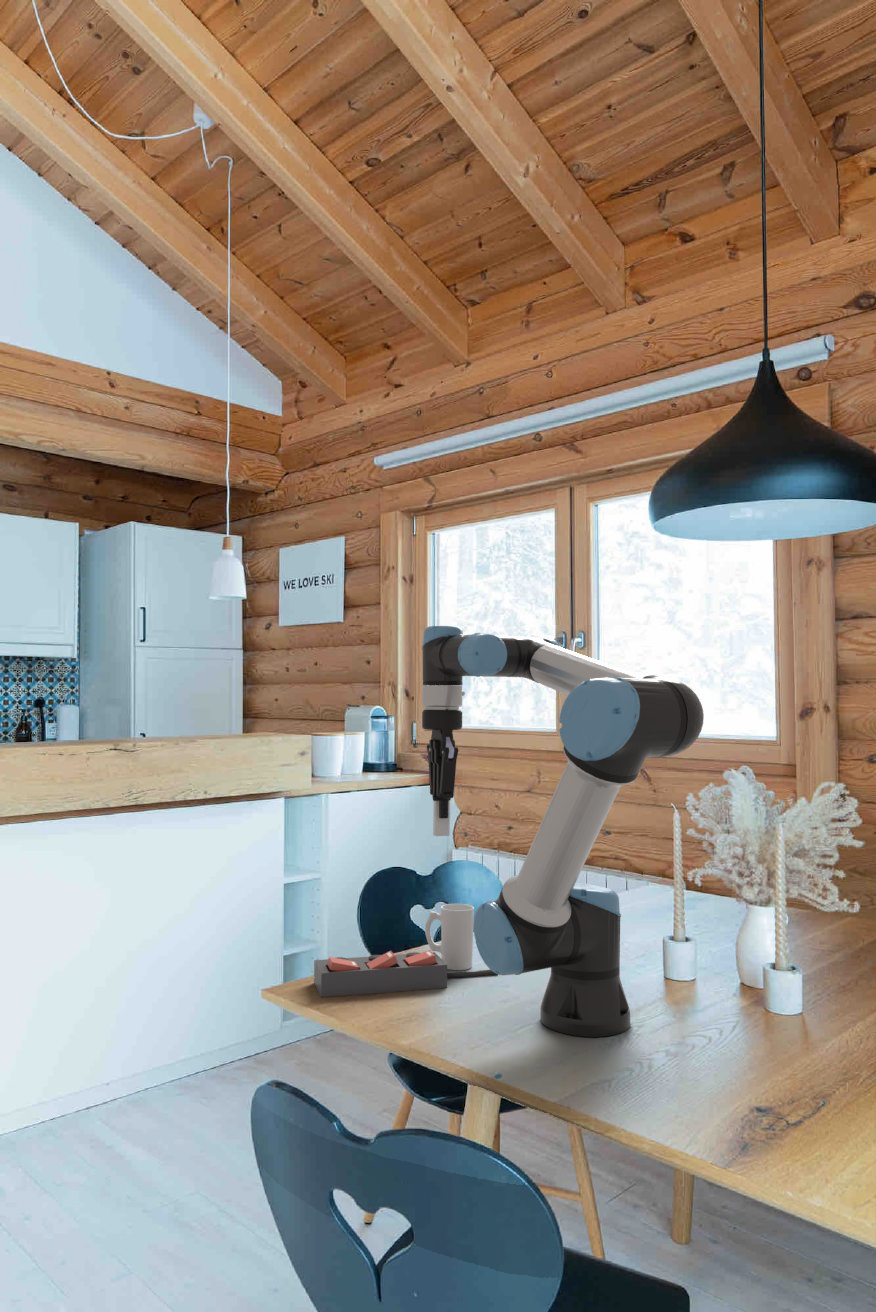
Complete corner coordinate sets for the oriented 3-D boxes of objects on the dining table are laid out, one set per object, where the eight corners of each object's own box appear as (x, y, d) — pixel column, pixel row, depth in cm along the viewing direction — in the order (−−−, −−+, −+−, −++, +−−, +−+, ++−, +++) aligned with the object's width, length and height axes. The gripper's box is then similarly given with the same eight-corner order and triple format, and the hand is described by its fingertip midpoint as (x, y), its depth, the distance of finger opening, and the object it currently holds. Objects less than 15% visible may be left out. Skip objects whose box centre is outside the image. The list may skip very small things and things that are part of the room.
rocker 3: (436, 962, 181) (434, 954, 181) (410, 970, 180) (409, 963, 180) (431, 957, 185) (429, 949, 185) (406, 965, 183) (404, 957, 183)
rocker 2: (398, 962, 179) (394, 955, 179) (373, 975, 178) (370, 968, 178) (393, 956, 183) (390, 950, 183) (369, 970, 181) (366, 963, 181)
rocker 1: (357, 974, 177) (359, 966, 177) (330, 969, 176) (332, 961, 176) (353, 968, 181) (355, 961, 181) (327, 964, 179) (329, 956, 180)
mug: (475, 962, 198) (476, 904, 198) (471, 971, 191) (471, 911, 191) (427, 959, 199) (428, 902, 200) (421, 968, 193) (422, 909, 193)
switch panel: (509, 982, 184) (509, 958, 184) (321, 997, 174) (321, 971, 174) (493, 969, 192) (494, 946, 193) (313, 982, 183) (314, 958, 183)
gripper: (472, 709, 173) (471, 839, 172) (451, 708, 185) (450, 830, 184) (432, 708, 171) (431, 841, 170) (414, 708, 183) (413, 831, 182)
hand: (441, 835), depth 177 cm, fingers closed
